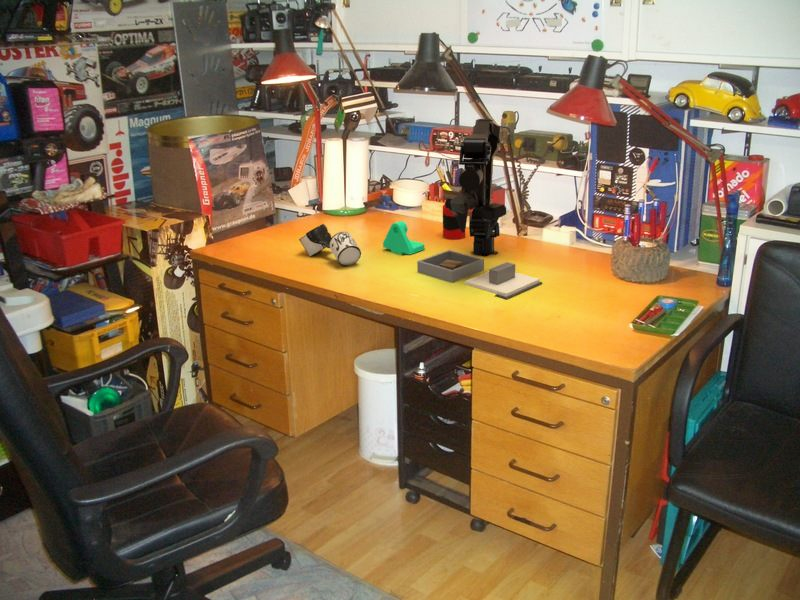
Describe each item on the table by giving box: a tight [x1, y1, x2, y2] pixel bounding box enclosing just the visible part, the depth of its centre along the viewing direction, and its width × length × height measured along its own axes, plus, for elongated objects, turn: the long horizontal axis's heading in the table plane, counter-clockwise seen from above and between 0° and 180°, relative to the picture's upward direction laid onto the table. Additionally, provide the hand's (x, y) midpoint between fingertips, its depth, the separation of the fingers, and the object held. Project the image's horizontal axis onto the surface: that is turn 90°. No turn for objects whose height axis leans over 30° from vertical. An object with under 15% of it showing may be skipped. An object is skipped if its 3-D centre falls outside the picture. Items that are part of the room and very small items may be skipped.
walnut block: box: [439, 260, 462, 270], centre depth 235 cm, size 5×5×2 cm
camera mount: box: [382, 220, 426, 256], centre depth 255 cm, size 12×8×10 cm, turn 46°
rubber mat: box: [494, 281, 543, 301], centre depth 224 cm, size 16×16×1 cm
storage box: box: [416, 249, 485, 284], centre depth 235 cm, size 14×14×4 cm
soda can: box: [442, 203, 466, 240], centre depth 267 cm, size 8×8×12 cm
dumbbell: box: [298, 223, 362, 267], centre depth 250 cm, size 25×10×10 cm, turn 43°
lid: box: [464, 262, 541, 297], centre depth 223 cm, size 15×15×5 cm
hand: (475, 235), depth 229 cm, fingers open, 9 cm apart
